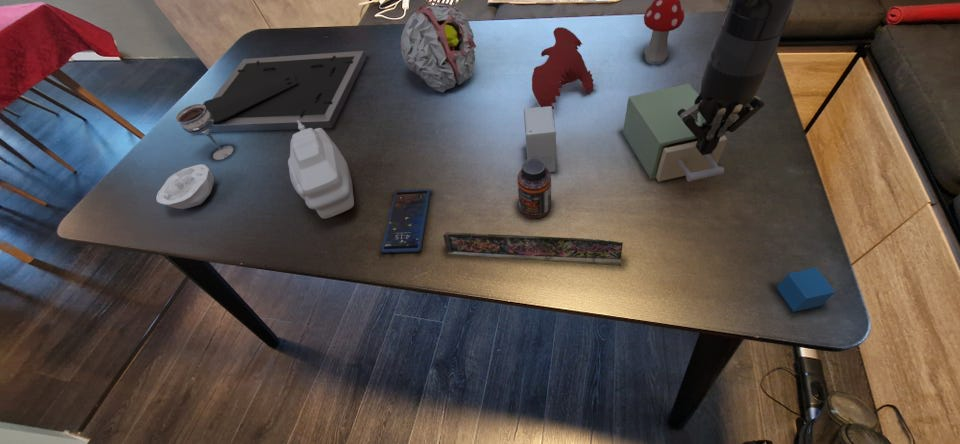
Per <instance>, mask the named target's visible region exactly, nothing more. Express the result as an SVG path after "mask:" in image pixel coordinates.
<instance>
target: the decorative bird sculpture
mask: <svg viewBox="0 0 960 444" xmlns="http://www.w3.org/2000/svg"><path fill="white" fill-rule="evenodd" d="M552 32H553V37H554V39H555V41H554V44H553V46H550V47H547V48H545V49H543V50H541V53H540V56H541V57H545V56H548V57H547V59H546V61H545V62H544V63H543V64H540V65H537V66H535V67H534V68H533V72H532V75H531V91H532V93H533V96H534V98H535V100H536V102H537V104H538V105H539V107H548V106H552V110H555V107H554V106H553V104H555V103H557V97H561V91H560V89H563V88H564V86H565V85H568V84H571V83H572V84H573V83H574V82H576V81H577V80H578V81H579V82H580V83H581V85H582V87H581V88H582V90H583V89H584V91H585V92H586V91H587V92H588V93H589V94H590V93H592V92H593V91H594V79H593V73H591V70H589V69H587V65H586V63H585V60H584V59H583V56H582V54H581V53H580V51H578V50H579V47H580V48H581V45H583V43H582V42H581V39H580V38H578V36H577V35H576V34H575V33H573V32H572V31H571V30H569V29H568V28H566V27H560V26H558V27H556V28H554V30H553V31H552Z"/></svg>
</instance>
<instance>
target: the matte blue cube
mask: <svg viewBox="0 0 960 444" xmlns="http://www.w3.org/2000/svg"><path fill="white" fill-rule="evenodd" d="M776 289H777V291H778V293H780V295H781V296H782V298H783V299H784V301H785V302H786V304H787V305H788V307H789V308H790V309H791V311H792V312H793V313H795V312H799V311H803V310H809V309H813V308H818V307H821V306H822V305H823V304H825V303H826V302H827V301H828V300H829V299H830V298H832V296H833V295H835V294H836V290H835V289H834V288H833V286H831V284H830V283H829V281H828V280H827V279H826V278H825V277H824V275H823V274H822V273H821V271H820V270H819V269H818V268H817V267H812V268H807V269H803V270H798V271H793V272H789V273H787V274H786V275H785V276H784V278H783V279H782V280H781V281H780V282H779V284H778V285H777V286H776Z"/></svg>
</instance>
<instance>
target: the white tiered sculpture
mask: <svg viewBox="0 0 960 444" xmlns="http://www.w3.org/2000/svg"><path fill="white" fill-rule="evenodd" d="M297 122H298V129H297V130H299V131H297V132H295V133H293V134H292V135H291V139H290V143H289V144H290V147H289V149H290V150H289V158H288V159H287V166H288V172H289V179H290V182H291V184H292V187H293V188H294V190H295V192H296V193H297V194H298V195H299V196H300V198H301V199H302V200H303V201H304V203H305V205H306V206H307V208H309V209H310V210H314V211H316V213H317V214H318V216H319V217H320V218H321V219H323V220H325V219H330V218H332V217H335V216H337V215H339V214H342V213H344V212H346V211H349V210H351V209H352V208H353V207H354V206H355V199H354V188H353V180H352V177H351V173H350V169H349V165H348V163H347V161H346V158H345V157H344V156H343V154H342V153H341V151H340V149H339V148H338V146H337V145H336V143H334V142H333V140H332V138H330V136H329V135H328V133H327V131H325V130H324V128H323V129H322V128H317V129H312V128H308V129H305V126H304V125H302V124H301V123H300V121H298V120H297Z"/></svg>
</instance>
